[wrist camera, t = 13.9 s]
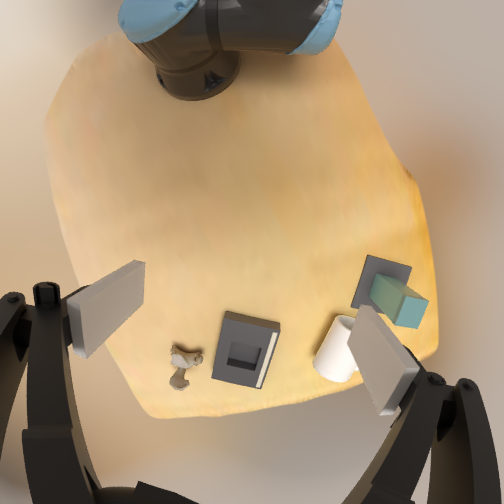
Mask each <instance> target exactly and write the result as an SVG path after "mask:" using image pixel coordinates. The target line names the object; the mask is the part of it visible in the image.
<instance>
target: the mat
mask: <svg viewBox="0 0 504 504" xmlns="http://www.w3.org/2000/svg"><path fill="white" fill-rule="evenodd" d="M411 269H412V267H409V266H406V265H402V264H399V263H395V262H392V261H388V260H384V259H381V258H377V257H373V256H370V255H367V258H366V261H365V265H364V268H363V271H362V274H361V277H360V280H359V284H358V287H357V289H356V292H355V295H354V298H353V301H352V304H351V308H356V309H359V308H360V305H368V306H372V307H373V309H374V310H375V311H376V312H377V313H382V314H385V313H384V312H383V311H382V310H381V309H380V308H379V307H378V306H377V305H376V304H375V303H374V301H373V300H372V299H371V298H370V297H369V294H370V291H371V289H372V286H373V283H374V280H375V277H376V274H381V275H385V276H389V277H393V278H397V279H398V280H399V281H401V282H402V283H404V284H405V285H406V284H407V281H408V278H409V275H410V272H411Z"/></svg>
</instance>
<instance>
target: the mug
mask: <svg viewBox="0 0 504 504" xmlns="http://www.w3.org/2000/svg"><path fill="white" fill-rule="evenodd" d="M354 322H355V318H353V317H350V316H346V315H338V316H336V317H335V319H334V321H333V323H332V325H331V327H330V329H329V331H328V333H327V335H326V337H325V339H324V341H323V343H322V345H321V347H320V348H319V350H318V352H317V354H316V356H315V358H314V359H313V366H314V368H315V370H316V371H317V372H318V373H319V374H320V375H321V376H323V377H325V378H326V379H328V380H331V381H334V382H345V381H347V380H349V378H350V377H351V375H352V374H353V372H354V371H359V369H358V367H357V364H356V362H355V360H354V358H353V356H352V353H351V351H350V349H349V347H348V345H347V341H348V339H349V336H350V333H351V331H352V328H353V325H354Z"/></svg>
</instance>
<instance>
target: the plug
mask: <svg viewBox="0 0 504 504" xmlns="http://www.w3.org/2000/svg"><path fill="white" fill-rule="evenodd" d="M369 297H370V298H371V299H372V300H373V301H374V303H375V304H376V305H377V306H378V307H379V308H380V309H381V310H382V311H383V312H384V313H385V314H386V316H387V317H388V318H389V319H390V320H391V321H392V323H393V324H394V325H396V326H403V327H409V328H415V329H418V327H419V324H420V322H421V320H422V317H423V315H424V312H425V310H426V307H427V305H428V302H429V301H428V300H427V299H425V298H423V297H422V296H420V295H419V294H418V293H416V292H415V291H414V290H412V289H411V288H409V287H408V286H407V285H405V284H404V283H402V282H401V281H399V280H398V279H397V278H393V277H389V276H385V275H381V274H376V277H375V280H374V283H373V286H372V289H371V291H370V294H369Z"/></svg>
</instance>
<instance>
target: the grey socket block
mask: <svg viewBox="0 0 504 504" xmlns="http://www.w3.org/2000/svg"><path fill="white" fill-rule="evenodd" d="M280 331H281V330H280V323H277V322H272V321H268V320H263V319H259V318H254V317H250V316H246V315H241V314H237V313H233V312H229V311H226V313H225V316H224V320H223V324H222V329H221V334H220V339H219V343H218V348H217V353H216V358H215V363H214V367H213V372H212V377H211V378H213V379H217V380H221V381H225V382H229V383H233V384H238V385H243V386H247V387H252V388H257V389H261V388H262V385H263V382H264V380H265V377H266V374H267V371H268V368H269V365H270V362H271V359H272V356H273V353H274V350H275V347H276V344H277V340H278V337H279V334H280Z"/></svg>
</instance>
